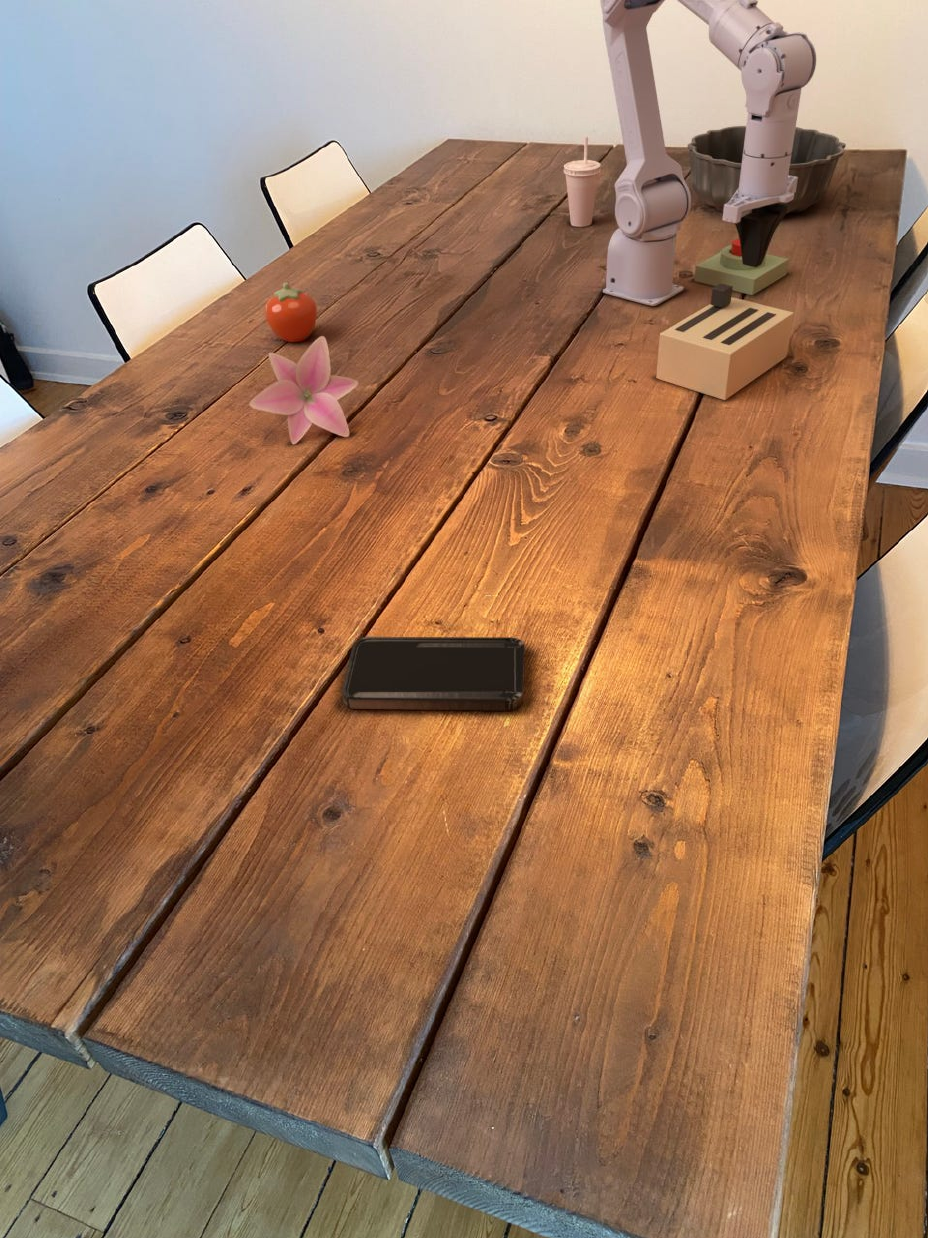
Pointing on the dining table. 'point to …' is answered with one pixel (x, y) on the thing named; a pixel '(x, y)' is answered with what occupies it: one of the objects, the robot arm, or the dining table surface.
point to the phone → (435, 673)
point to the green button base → (740, 272)
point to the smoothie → (582, 188)
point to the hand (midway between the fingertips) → (752, 264)
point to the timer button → (736, 248)
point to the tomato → (291, 314)
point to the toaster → (724, 347)
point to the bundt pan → (722, 161)
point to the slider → (721, 295)
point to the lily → (306, 392)
